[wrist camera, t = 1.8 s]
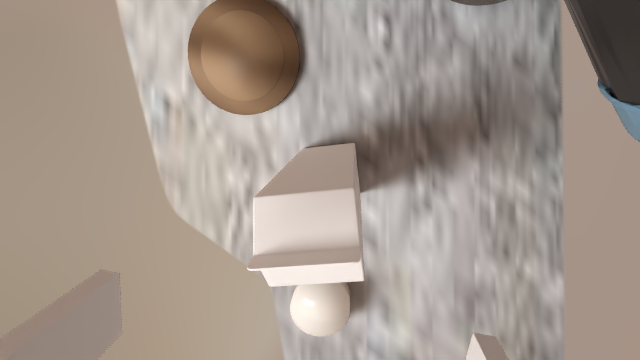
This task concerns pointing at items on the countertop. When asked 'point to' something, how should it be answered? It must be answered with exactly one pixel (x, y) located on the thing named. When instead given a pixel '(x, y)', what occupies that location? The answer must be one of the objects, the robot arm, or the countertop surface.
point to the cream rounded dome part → (321, 308)
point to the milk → (310, 220)
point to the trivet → (243, 55)
